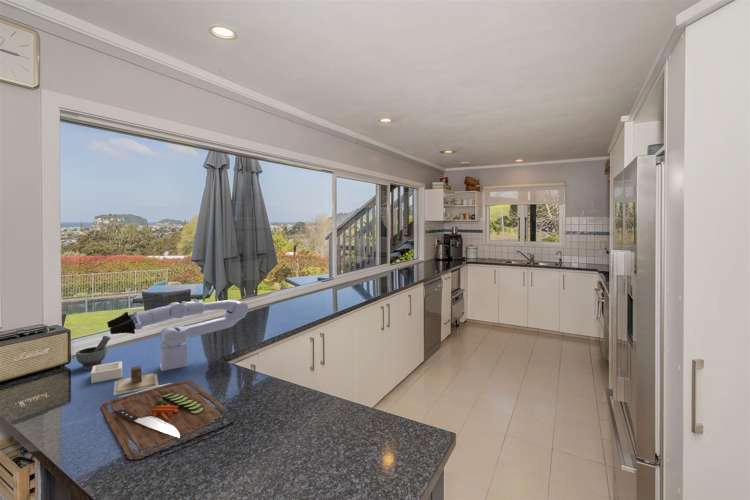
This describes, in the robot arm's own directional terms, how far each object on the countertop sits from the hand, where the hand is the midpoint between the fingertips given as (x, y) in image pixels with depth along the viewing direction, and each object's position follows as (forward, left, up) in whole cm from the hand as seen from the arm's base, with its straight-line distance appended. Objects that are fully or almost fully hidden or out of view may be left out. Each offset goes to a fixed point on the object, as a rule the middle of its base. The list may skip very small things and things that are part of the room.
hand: (108, 328), depth 131 cm
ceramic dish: (+1, -3, -19) cm, 20 cm away
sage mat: (-8, +11, -19) cm, 24 cm away
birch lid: (-8, +11, -19) cm, 23 cm away
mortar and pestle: (+6, -20, -20) cm, 29 cm away
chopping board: (-15, +40, -20) cm, 47 cm away
